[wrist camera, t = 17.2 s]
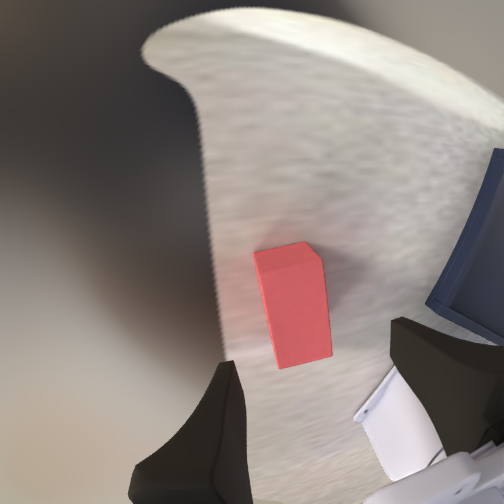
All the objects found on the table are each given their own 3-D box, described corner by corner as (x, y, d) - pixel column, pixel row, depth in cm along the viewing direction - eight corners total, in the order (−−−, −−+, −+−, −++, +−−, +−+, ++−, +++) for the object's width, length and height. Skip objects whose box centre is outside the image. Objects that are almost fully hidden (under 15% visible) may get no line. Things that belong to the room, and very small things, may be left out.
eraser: (317, 326, 20) (333, 356, 17) (270, 337, 20) (278, 370, 17) (305, 240, 18) (322, 259, 15) (252, 252, 18) (258, 273, 15)
